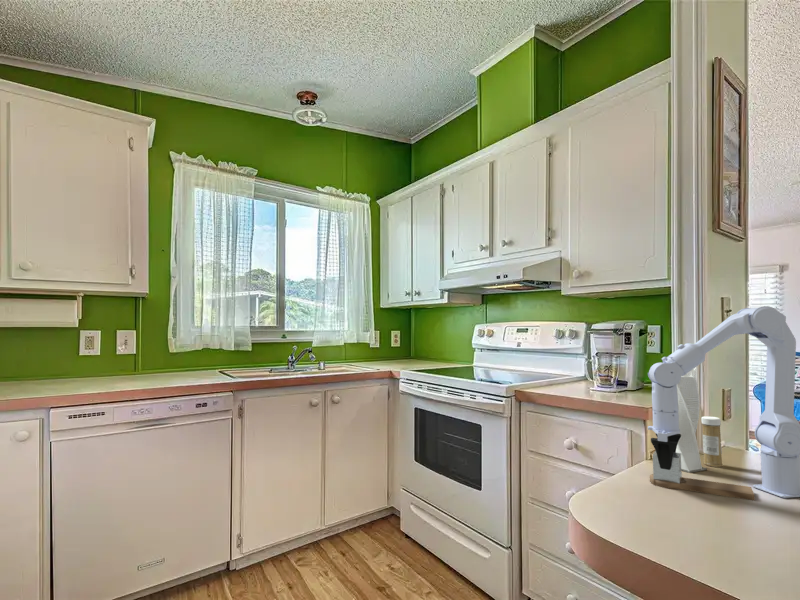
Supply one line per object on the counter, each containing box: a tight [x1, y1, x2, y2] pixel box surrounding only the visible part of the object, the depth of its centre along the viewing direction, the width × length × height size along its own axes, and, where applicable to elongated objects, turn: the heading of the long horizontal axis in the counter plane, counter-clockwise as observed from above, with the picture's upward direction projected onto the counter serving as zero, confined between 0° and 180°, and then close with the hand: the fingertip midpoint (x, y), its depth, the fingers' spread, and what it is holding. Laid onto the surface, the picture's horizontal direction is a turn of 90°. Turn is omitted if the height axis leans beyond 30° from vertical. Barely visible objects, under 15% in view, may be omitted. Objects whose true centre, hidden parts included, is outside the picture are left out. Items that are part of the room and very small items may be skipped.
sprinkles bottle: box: [700, 415, 723, 468], centre depth 132 cm, size 5×5×14 cm
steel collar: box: [652, 449, 683, 484], centre depth 116 cm, size 6×6×6 cm
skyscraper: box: [676, 367, 707, 474], centre depth 129 cm, size 8×8×28 cm
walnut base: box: [649, 473, 756, 501], centre depth 112 cm, size 21×8×4 cm, turn 59°
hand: (667, 465), depth 116 cm, fingers open, 6 cm apart
